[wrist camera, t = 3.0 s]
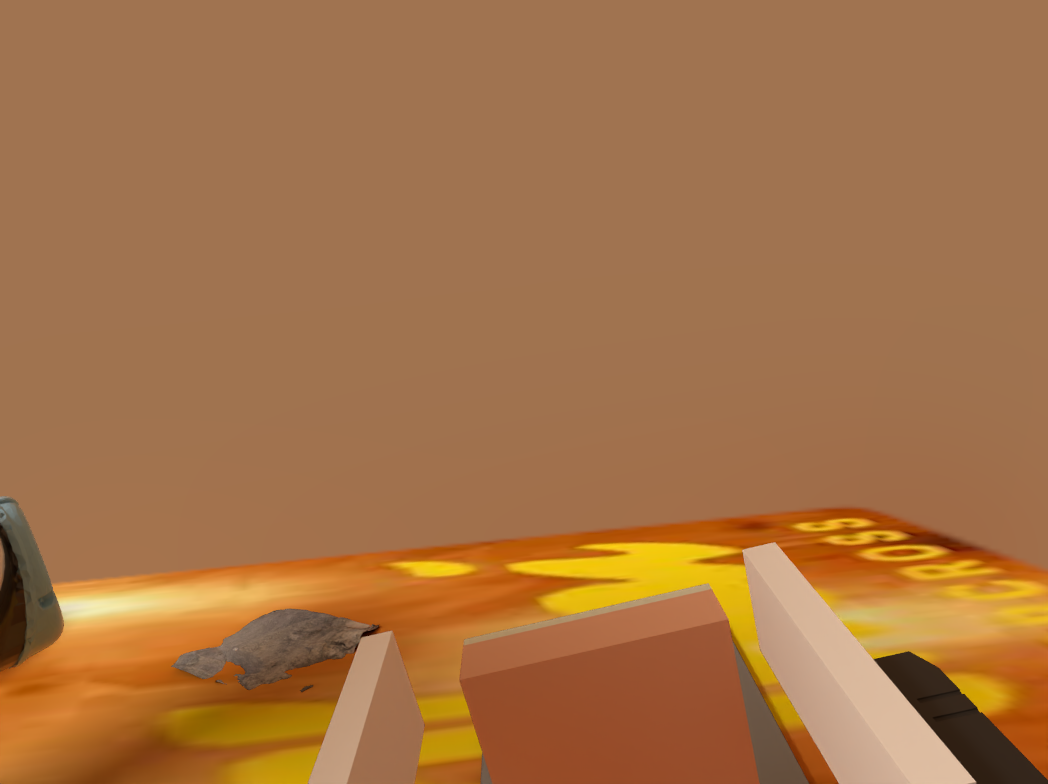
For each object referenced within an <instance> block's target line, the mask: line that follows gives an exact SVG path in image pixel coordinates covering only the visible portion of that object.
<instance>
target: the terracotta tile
mask: <svg viewBox="0 0 1048 784" xmlns="http://www.w3.org/2000/svg"><path fill="white" fill-rule="evenodd" d="M460 683H461V686H462V689H463V693H464V696H465V699H466V702H467V705H468V708H469V711H470V715H471V718H472V721H473V724H474V727H475V730H476V733H477V737H478V740H479V743H480V746H481V749H482V752H483V755H484V759H485V762H486V765H487V768H488V771H489V774H490V777H491V780H492V784H760V783H759V778H758V773H757V767H756V762H755V757H754V752H753V746H752V741H751V736H750V731H749V726H748V720H747V715H746V710H745V705H744V699H743V694H742V689H741V684H740V678H739V673H738V668H737V663H736V657H735V652H734V647H733V642H732V636H731V631H730V626H729V621H728V618H727V616H726V614H725V612H724V611H723V609H722V607H721V605H720V603H719V602H718V600H717V598H716V596H715V594H714V593H713V591H712V589H711V587H710V585H709V584H704V585H700V586H695V587H691V588H687V589H682V590H678V591H674V592H669V593H665V594H660V595H656V596H652V597H647V598H643V599H639V600H634V601H630V602H625V603H621V604H617V605H612V606H608V607H604V608H599V609H595V610H590V611H586V612H582V613H577V614H573V615H568V616H564V617H560V618H555V619H551V620H547V621H542V622H538V623H533V624H529V625H525V626H520V627H516V628H512V629H507V630H503V631H498V632H494V633H490V634H485V635H481V636H477V637H472V638H468V639H464V645H463V654H462V663H461V671H460Z"/></svg>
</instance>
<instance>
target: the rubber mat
mask: <svg viewBox="0 0 1048 784" xmlns="http://www.w3.org/2000/svg"><path fill="white" fill-rule="evenodd" d="M732 642H733V640H732ZM733 647H734V652H735V657H736V663H737V668H738V673H739V678H740V684H741V689H742V694H743V699H744V705H745V710H746V715H747V720H748V726H749V731H750V736H751V741H752V746H753V752H754V757H755V762H756V767H757V773H758V778H759V783H760V784H809V782H808V781H807V779H806V777H805V775H804V773H803V771H802V769H801V767H800V766H799V764H798V762H797V760H796V758H795V756H794V754H793V753H792V751H791V749H790V747H789V745H788V743H787V741H786V739H785V738H784V736H783V734H782V732H781V730H780V728H779V726H778V725H777V723H776V721H775V719H774V717H773V715H772V713H771V711H770V710H769V708H768V706H767V704H766V702H765V700H764V698H763V697H762V695H761V693H760V691H759V689H758V687H757V685H756V683H755V682H754V680H753V678H752V676H751V674H750V672H749V670H748V668H747V667H746V665H745V663H744V661H743V659H742V657H741V655H740V654H739V652H738V650H737V648H736V646H735V644H734V642H733ZM481 784H492V780H491V777H490V774H489V771H488V768H487V765H486V762H485V759H484V755H483V753H482V770H481Z"/></svg>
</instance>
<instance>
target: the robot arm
mask: <svg viewBox="0 0 1048 784" xmlns="http://www.w3.org/2000/svg"><path fill="white" fill-rule="evenodd" d="M742 551H743V556H744V562H745V567H746V573H747V579H748V584H749V590H750V595H751V601H752V607H753V612H754V618H755V623H756V629H757V634H758V640H759V646H760V650H761V652H762V654H763V655H764V657H765V659H766V661H767V662H768V664H769V666H770V667H771V669H772V671H773V672H774V674H775V676H776V678H777V679H778V681H779V683H780V684H781V686H782V688H783V689H784V691H785V693H786V694H787V696H788V698H789V700H790V701H791V703H792V705H793V706H794V708H795V710H796V711H797V713H798V715H799V717H800V718H801V720H802V722H803V723H804V725H805V727H806V728H807V730H808V732H809V733H810V735H811V737H812V739H813V740H814V742H815V744H816V745H817V747H818V749H819V750H820V752H821V754H822V756H823V757H824V759H825V761H826V762H827V764H828V766H829V767H830V769H831V771H832V772H833V774H834V776H835V778H836V779H837V781H838V783H839V784H1048V780H1047V779H1046V778H1045V777H1044V776H1043V775H1042V774H1041V773H1040V772H1039V771H1038V770H1037V769H1036V768H1035V767H1034V765H1033V764H1032V763H1031V762H1030V761H1029V760H1028V759H1027V758H1026V757H1025V756H1024V755H1023V754H1022V753H1021V752H1020V751H1019V750H1018V749H1017V748H1016V747H1015V746H1014V745H1013V744H1012V743H1011V742H1010V741H1009V740H1008V739H1007V738H1006V737H1005V736H1004V735H1003V734H1002V733H1001V732H1000V731H999V729H998V728H997V727H996V726H995V725H994V724H993V723H992V722H991V721H990V720H989V719H988V718H987V717H986V716H985V715H984V714H983V713H982V712H981V713H980V712H979V711H978V709H977V707H976V706H975V705H974V704H973V703H972V702H971V701H970V700H969V699H968V698H967V697H966V696H965V694H961V692H960V689H959V688H958V687H957V686H956V685H955V684H954V683H953V682H952V681H951V680H950V679H949V678H948V677H947V676H946V675H945V674H944V673H943V672H942V671H941V670H940V669H939V668H938V667H936V666H935V665H933V664H931V663H929V662H927V661H925V660H924V659H922V658H920V657H918V656H916V655H915V654H913V653H911V652H904V653H900V654H895V655H891V656H886V657H882V658H877V659H872V657H871V656H870V655H869V654H868V653H867V651H866V650H865V649H864V648H863V647H862V645H861V644H860V643H859V642H858V641H857V639H856V638H855V637H854V636H853V635H852V633H851V632H850V631H849V630H848V629H847V628H846V626H845V625H844V624H843V623H842V622H841V620H840V619H839V618H838V617H837V616H836V614H835V613H834V612H833V611H832V610H831V608H830V607H829V606H828V605H827V604H826V602H825V601H824V600H823V599H822V598H821V597H820V595H819V594H818V593H817V592H816V591H815V589H814V588H813V587H812V586H811V585H810V583H809V582H808V581H807V580H806V579H805V577H804V576H803V575H802V574H801V573H800V572H799V570H798V569H797V568H796V567H795V566H794V564H793V563H792V562H791V561H790V560H789V558H788V557H787V556H786V555H785V554H784V552H783V551H782V550H781V549H780V548H779V546H778V545H777V544H776V543H775V542H774V543H770V544H765V545H761V546H757V547H752V548H748V549H744V550H742ZM63 627H64V621H63V616H62V613H61V610H60V606H59V604H58V601H57V598H56V596H55V593H54V591H53V587H52V584H51V581H50V578H49V575H48V572H47V569H46V567H45V564H44V561H43V559H42V556H41V554H40V551H39V548H38V546H37V543H36V541H35V538H34V536H33V534H32V531H31V529H30V526H29V524H28V522H27V520H26V517H25V515H24V513H23V511H22V509H21V508H20V507H19V504H18V502H17V501H16V500H15V499H13V498H11V497H7V496H3V497H0V671H3V670H5V669H7V668H12V667H16V666H18V665H20V664H22V663H23V662H24V661H25V660H26V659H27V658H29V657H31V656H32V655H34V654H36V653H38V652H40V651H42V650H43V649H45V648H47V647H49V646H50V645H52V644H53V643H54V642H55V641H56V640H57V639H58V638H59V637H60V635H61V633H62V631H63ZM424 726H425V724H424V722H423V719H422V716H421V713H420V710H419V707H418V704H417V701H416V698H415V695H414V692H413V689H412V686H411V683H410V681H409V678H408V675H407V672H406V669H405V666H404V663H403V660H402V657H401V654H400V651H399V648H398V645H397V642H396V640H395V637H394V634H393V631H388V632H384V633H379V634H375V635H370V636H366V637H362V638H361V640H360V643H359V645H358V648H357V651H356V654H355V656H354V659H353V662H352V664H351V667H350V670H349V673H348V675H347V678H346V681H345V684H344V686H343V689H342V692H341V694H340V697H339V700H338V703H337V705H336V708H335V711H334V713H333V716H332V719H331V722H330V724H329V727H328V730H327V732H326V735H325V738H324V741H323V743H322V746H321V749H320V751H319V754H318V757H317V760H316V762H315V765H314V768H313V770H312V773H311V776H310V779H309V781H308V784H414V783H415V777H416V772H417V766H418V760H419V755H420V749H421V743H422V738H423V732H424Z"/></svg>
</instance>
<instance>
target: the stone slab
mask: <svg viewBox="0 0 1048 784" xmlns="http://www.w3.org/2000/svg"><path fill="white" fill-rule="evenodd" d="M369 626H371V627H369ZM378 626H379V625H377V626H376V625H373V624H372V625H368V624H363V623H359V622H355V621H352V620H350V619H347V618H338V617H335V616H332V615H329V614H325V613H318V612H311V611H308V610H299V609H285V610H276V611H273V612H271V613H269V614H267V615H266V614H265V615H263V616H261V617H259V618H257V619H255V620H253V621H252V622H250V623H249V624H248V625H246V626H245V627H243V628H242V629H241V630H240V631H238V632H237V633H235V634H233V635H232V636H229V637H227V638H225V639H224V640H223V643H222V645H221V646H219V647H215V648H206V649H202V650H197V651H192V652H189V653H186V654H183V655H181V656H180V657H179V659H178V660H177V661H176V663H175V664H174V665H172V666H171V667H175V668H178V669H180V670H184V671H186V672H189V673H191V674H193V675H195V676H197V677H200V678H202V679H207V678H210V677H213V676H214V675H215V674H216V673H218V672H219V671H221V670H222V668H223V667H224V664H225V662H226V661H227V662H233V663H234V664H235V665H240V666H241V667H242V668H244V670H245V675H241V674H235V675H234V676H238V680H240V681H238V682H240V684H241V685H242V686H244V687H245V688H246V689H247V690H251V689H253V688H255V687H257V686H259V685H260V684H267V683H268V684H270V683H274V682H276V681H279V680H281V679H287V678H290V677H291V676H292V675H288V674H287V673H285V671H287V670H290V669H291V670H292V669H294V668H301V667H307V666H310V665H312V664H315V663H318V662H322V661H324V660H326V659H341V658H343V657H345V655H346V654H348V653H354V650H355V647H356V646H357V644H358V643H359V642H360V639H361V635H362V633H363V632H365V631H370V630H373V629H377V627H378ZM217 682H220V683H223V682H222V681H221V680H217ZM223 684H224V683H223ZM226 685H227V684H226ZM310 687H313V685H310V686H306V687H304V688H303V689H302V690H301V692H303V691H304V690H306V689H308V688H310Z"/></svg>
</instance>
